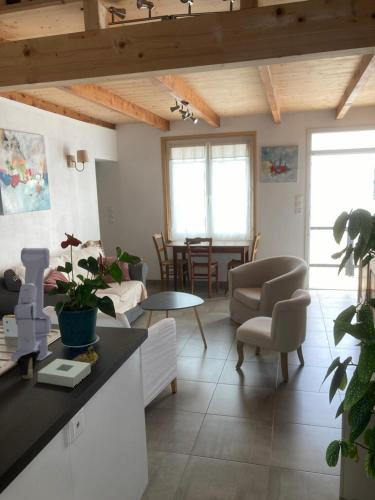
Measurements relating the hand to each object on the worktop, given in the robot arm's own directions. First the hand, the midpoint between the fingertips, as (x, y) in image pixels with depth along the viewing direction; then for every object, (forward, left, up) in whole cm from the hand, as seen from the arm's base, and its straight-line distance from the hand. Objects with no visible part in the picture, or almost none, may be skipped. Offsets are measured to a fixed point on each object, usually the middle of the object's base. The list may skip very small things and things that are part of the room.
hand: (27, 372), depth 143 cm
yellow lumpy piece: (+13, +18, -2) cm, 22 cm away
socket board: (+12, +4, -2) cm, 13 cm away
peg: (0, 0, -2) cm, 2 cm away
